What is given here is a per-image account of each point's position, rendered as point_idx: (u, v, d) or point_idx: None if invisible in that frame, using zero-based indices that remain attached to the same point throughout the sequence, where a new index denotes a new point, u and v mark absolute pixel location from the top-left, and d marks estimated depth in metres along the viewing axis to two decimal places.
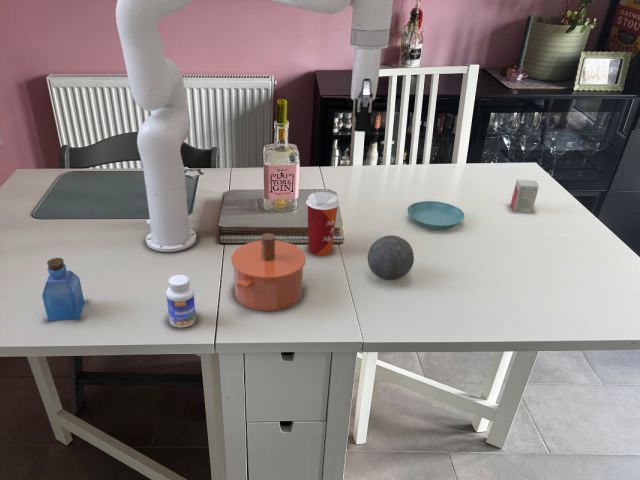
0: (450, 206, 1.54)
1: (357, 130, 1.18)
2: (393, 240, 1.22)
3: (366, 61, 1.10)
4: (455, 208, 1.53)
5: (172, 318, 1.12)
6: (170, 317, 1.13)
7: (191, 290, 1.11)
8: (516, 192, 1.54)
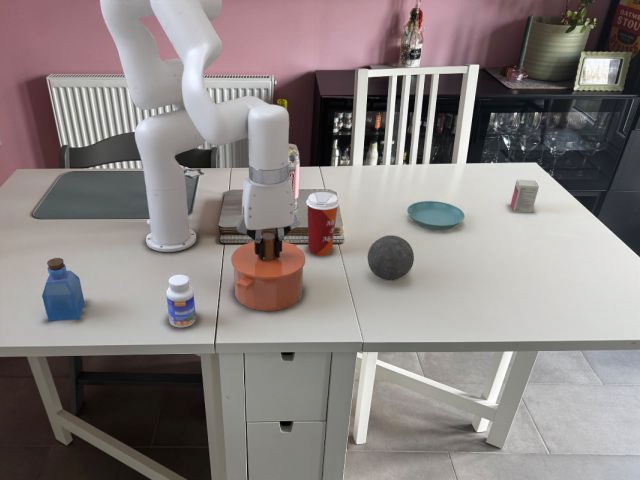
0: (450, 206, 1.54)
1: (257, 253, 1.19)
2: (393, 240, 1.22)
3: (243, 190, 1.10)
4: (455, 208, 1.53)
5: (172, 318, 1.12)
6: (170, 317, 1.13)
7: (191, 290, 1.11)
8: (516, 192, 1.54)
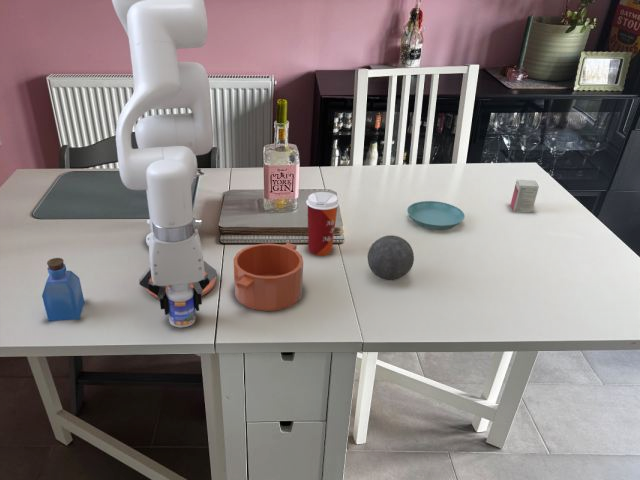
0: (450, 206, 1.54)
1: None
2: (393, 240, 1.22)
3: (149, 246, 1.05)
4: (455, 208, 1.53)
5: (172, 318, 1.12)
6: (170, 317, 1.13)
7: (191, 290, 1.11)
8: (516, 192, 1.54)
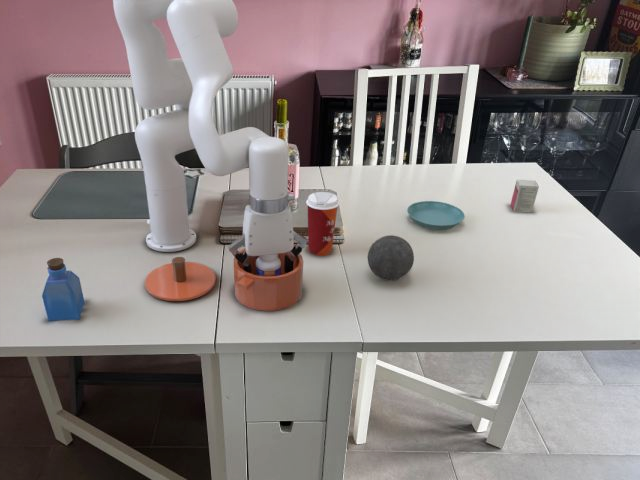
0: (450, 206, 1.54)
1: None
2: (393, 240, 1.22)
3: (244, 218, 1.14)
4: (455, 208, 1.53)
5: None
6: None
7: (279, 260, 1.19)
8: (516, 192, 1.54)
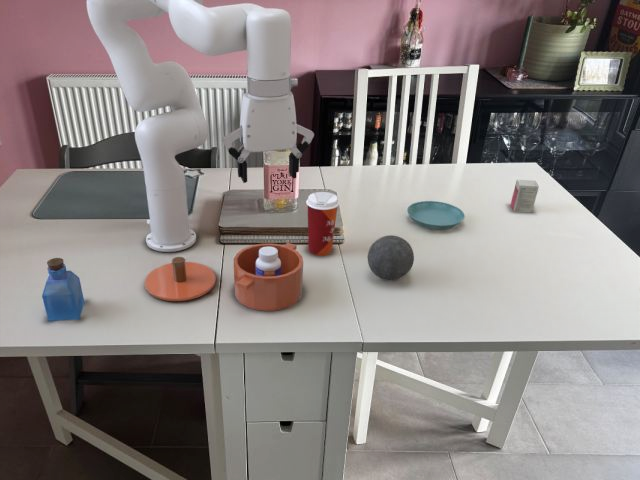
0: (450, 206, 1.54)
1: (241, 177, 1.10)
2: (393, 240, 1.22)
3: (242, 107, 1.02)
4: (455, 208, 1.53)
5: None
6: None
7: (279, 260, 1.19)
8: (516, 192, 1.54)
